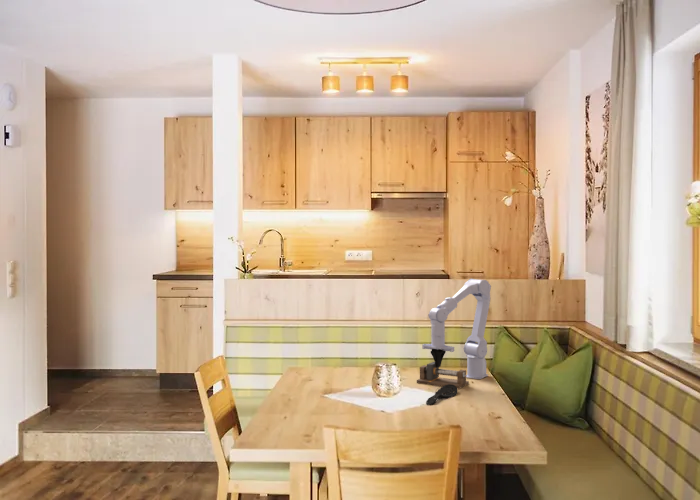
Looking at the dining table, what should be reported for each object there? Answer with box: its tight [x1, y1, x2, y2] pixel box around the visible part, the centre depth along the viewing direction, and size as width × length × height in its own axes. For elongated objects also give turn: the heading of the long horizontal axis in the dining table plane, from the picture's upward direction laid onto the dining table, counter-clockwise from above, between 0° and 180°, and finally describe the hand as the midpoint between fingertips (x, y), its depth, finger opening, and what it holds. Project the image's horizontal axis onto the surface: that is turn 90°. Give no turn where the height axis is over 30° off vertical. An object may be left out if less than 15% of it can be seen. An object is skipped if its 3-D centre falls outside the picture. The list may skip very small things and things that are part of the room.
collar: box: [426, 361, 440, 380], centre depth 294 cm, size 7×2×7 cm, turn 146°
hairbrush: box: [425, 384, 458, 406], centre depth 268 cm, size 8×4×25 cm
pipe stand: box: [416, 364, 470, 390], centre depth 292 cm, size 10×20×6 cm, turn 56°
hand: (438, 366), depth 293 cm, fingers closed
